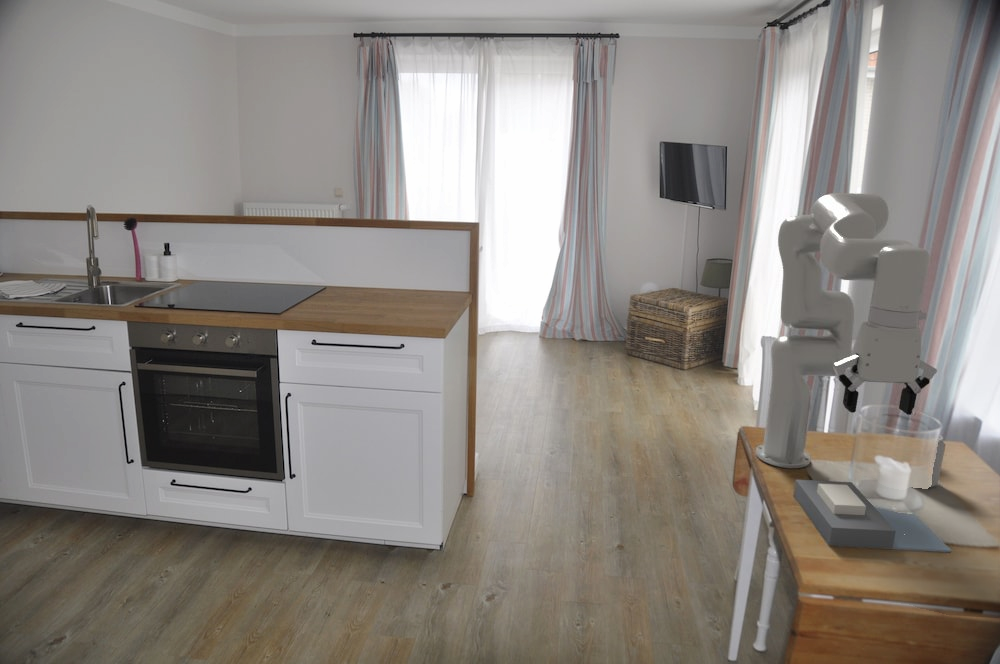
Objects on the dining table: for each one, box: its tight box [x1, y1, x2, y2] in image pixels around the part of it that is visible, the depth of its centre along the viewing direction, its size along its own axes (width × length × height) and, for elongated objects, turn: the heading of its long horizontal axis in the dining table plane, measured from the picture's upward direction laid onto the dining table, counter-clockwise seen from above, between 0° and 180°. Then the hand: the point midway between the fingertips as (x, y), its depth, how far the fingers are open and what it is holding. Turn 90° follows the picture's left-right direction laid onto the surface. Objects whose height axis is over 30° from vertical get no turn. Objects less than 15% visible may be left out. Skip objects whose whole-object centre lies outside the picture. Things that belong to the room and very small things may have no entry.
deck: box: [793, 479, 896, 550], centre depth 143 cm, size 20×12×4 cm, turn 176°
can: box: [931, 434, 946, 488], centre depth 160 cm, size 8×8×12 cm
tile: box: [817, 484, 866, 515], centre depth 143 cm, size 9×6×2 cm, turn 176°
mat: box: [875, 507, 952, 553], centre depth 143 cm, size 20×11×1 cm, turn 176°
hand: (877, 411), depth 124 cm, fingers open, 9 cm apart
